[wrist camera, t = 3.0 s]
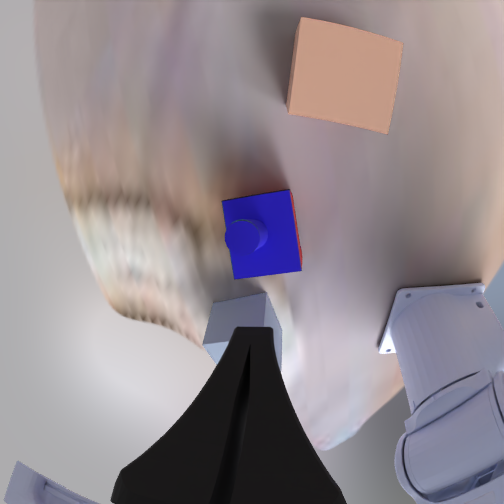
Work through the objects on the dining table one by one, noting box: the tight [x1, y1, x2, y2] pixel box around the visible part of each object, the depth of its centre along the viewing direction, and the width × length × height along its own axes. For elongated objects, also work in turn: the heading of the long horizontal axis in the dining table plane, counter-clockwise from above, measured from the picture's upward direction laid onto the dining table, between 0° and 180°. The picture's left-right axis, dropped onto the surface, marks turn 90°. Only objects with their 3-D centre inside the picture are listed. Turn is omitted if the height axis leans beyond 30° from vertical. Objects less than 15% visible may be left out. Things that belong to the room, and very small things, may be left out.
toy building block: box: [222, 189, 302, 279], centre depth 16 cm, size 4×4×8 cm
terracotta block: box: [286, 17, 403, 135], centre depth 12 cm, size 4×4×4 cm
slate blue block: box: [202, 292, 282, 372], centre depth 22 cm, size 4×4×4 cm
